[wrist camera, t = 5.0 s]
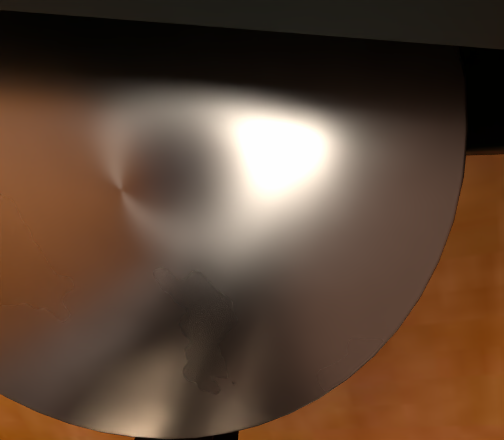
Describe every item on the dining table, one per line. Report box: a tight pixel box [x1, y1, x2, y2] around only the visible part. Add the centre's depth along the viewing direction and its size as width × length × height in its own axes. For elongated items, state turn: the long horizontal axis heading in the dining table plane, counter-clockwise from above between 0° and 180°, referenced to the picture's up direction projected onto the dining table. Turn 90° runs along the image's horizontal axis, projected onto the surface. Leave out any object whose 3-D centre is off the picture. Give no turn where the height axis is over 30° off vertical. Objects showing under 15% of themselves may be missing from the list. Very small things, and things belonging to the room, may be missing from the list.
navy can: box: [0, 10, 468, 439], centre depth 9 cm, size 6×6×13 cm
